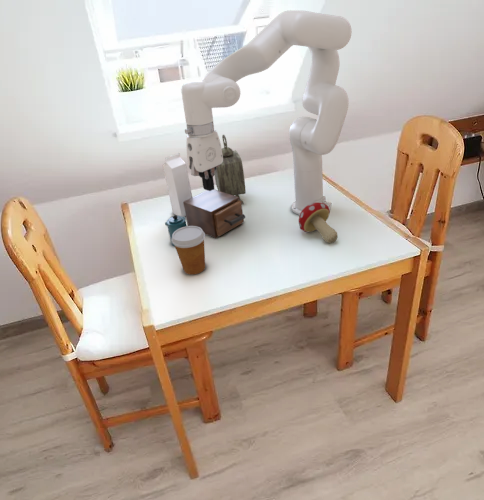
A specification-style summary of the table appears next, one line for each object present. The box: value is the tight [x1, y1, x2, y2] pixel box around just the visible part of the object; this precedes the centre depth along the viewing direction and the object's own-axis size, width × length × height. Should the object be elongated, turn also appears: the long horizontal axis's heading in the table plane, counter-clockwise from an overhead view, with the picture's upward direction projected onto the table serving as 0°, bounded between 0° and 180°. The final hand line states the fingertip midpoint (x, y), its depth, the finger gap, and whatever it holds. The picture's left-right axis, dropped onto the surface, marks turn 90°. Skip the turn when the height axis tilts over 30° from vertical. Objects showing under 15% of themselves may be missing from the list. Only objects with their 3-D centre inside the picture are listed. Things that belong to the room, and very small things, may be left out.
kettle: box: [164, 214, 188, 247], centre depth 141 cm, size 11×6×10 cm, turn 47°
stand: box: [183, 188, 240, 239], centre depth 149 cm, size 14×13×10 cm
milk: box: [162, 152, 193, 218], centre depth 156 cm, size 6×6×22 cm
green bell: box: [214, 134, 247, 205], centre depth 160 cm, size 14×9×25 cm, turn 13°
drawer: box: [213, 201, 246, 237], centre depth 146 cm, size 17×11×8 cm
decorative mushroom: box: [298, 202, 339, 244], centre depth 136 cm, size 11×11×15 cm
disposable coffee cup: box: [170, 225, 206, 276], centre depth 126 cm, size 10×10×12 cm
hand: (209, 189), depth 133 cm, fingers closed
